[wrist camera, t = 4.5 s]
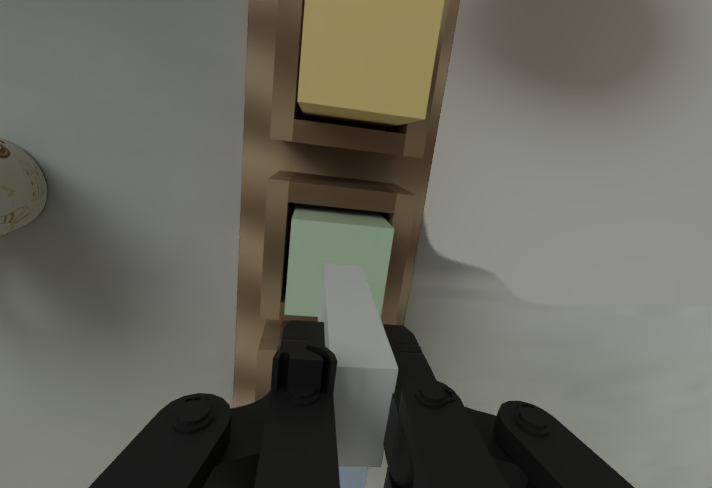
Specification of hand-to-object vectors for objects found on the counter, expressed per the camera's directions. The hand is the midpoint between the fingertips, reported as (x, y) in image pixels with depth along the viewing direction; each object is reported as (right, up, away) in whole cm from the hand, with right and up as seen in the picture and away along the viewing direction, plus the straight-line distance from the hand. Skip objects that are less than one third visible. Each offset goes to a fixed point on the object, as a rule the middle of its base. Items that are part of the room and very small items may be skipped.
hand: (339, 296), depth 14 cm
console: (-1, +3, +12) cm, 13 cm away
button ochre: (+1, +12, +6) cm, 13 cm away
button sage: (-1, +3, +10) cm, 11 cm away
